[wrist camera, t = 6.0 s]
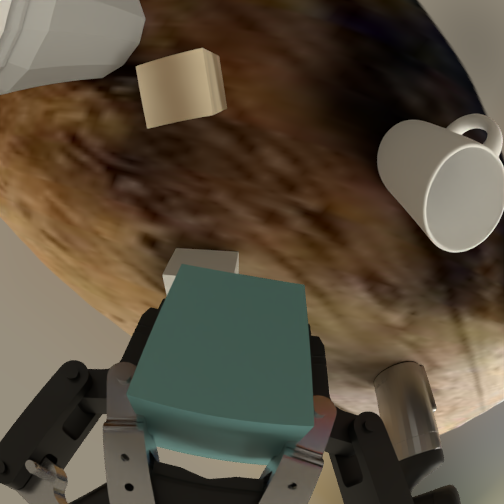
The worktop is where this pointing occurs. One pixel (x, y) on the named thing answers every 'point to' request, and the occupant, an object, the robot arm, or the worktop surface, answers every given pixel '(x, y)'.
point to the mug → (446, 178)
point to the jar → (65, 40)
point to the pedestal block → (200, 262)
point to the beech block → (181, 87)
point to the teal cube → (227, 367)
